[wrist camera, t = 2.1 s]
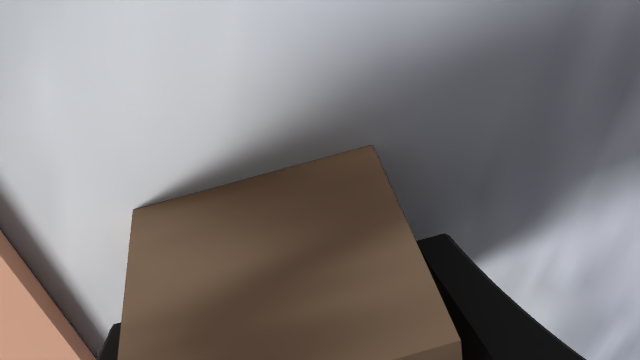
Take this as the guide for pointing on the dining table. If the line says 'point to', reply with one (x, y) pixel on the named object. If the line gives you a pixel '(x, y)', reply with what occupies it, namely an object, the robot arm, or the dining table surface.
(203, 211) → the walnut cube
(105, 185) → the dining table surface
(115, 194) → the dining table surface
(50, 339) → the terracotta tile
